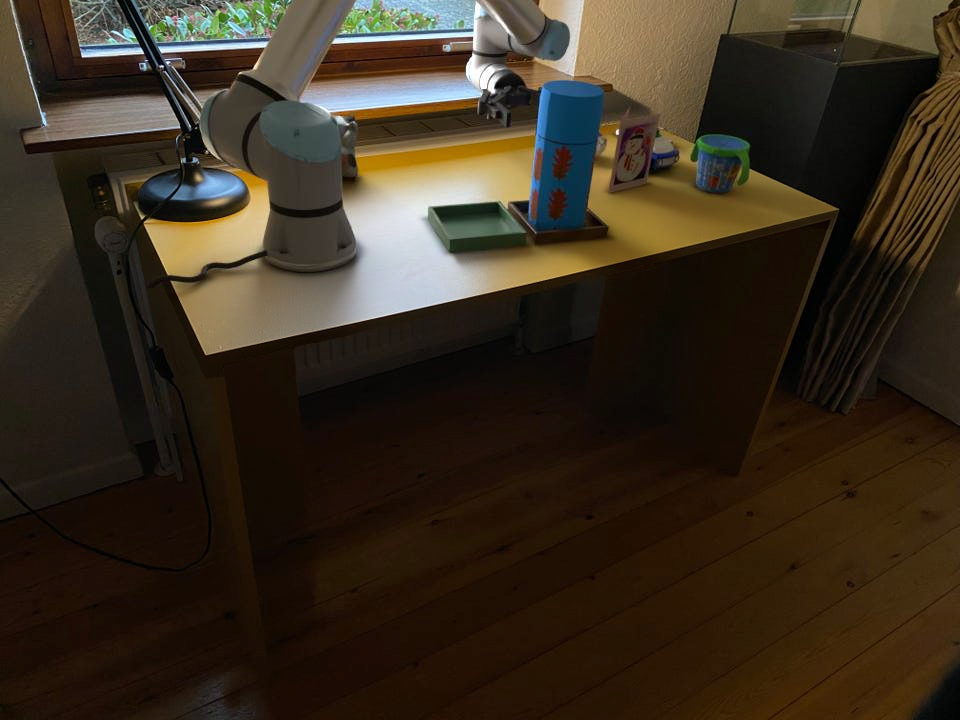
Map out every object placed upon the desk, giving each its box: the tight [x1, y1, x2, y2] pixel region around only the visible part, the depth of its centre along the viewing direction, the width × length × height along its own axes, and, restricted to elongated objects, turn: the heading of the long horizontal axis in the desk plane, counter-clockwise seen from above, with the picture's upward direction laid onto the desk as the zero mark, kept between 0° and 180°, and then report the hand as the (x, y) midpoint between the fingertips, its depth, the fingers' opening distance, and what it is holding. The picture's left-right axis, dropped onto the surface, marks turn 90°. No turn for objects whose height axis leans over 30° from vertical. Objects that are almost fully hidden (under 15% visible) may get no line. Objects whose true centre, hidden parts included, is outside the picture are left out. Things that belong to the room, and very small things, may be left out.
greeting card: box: [608, 106, 661, 194], centre depth 154 cm, size 11×7×15 cm, turn 126°
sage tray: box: [427, 200, 528, 253], centre depth 133 cm, size 14×14×2 cm
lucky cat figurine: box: [333, 113, 359, 180], centre depth 149 cm, size 15×12×14 cm
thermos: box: [528, 79, 605, 232], centre depth 132 cm, size 11×11×25 cm
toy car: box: [648, 125, 681, 173], centre depth 166 cm, size 9×12×10 cm
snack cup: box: [689, 133, 751, 194], centre depth 156 cm, size 16×10×10 cm
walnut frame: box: [507, 199, 610, 245], centre depth 138 cm, size 14×14×2 cm
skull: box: [595, 131, 608, 158], centre depth 168 cm, size 8×9×12 cm
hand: (542, 118), depth 138 cm, fingers open, 13 cm apart
